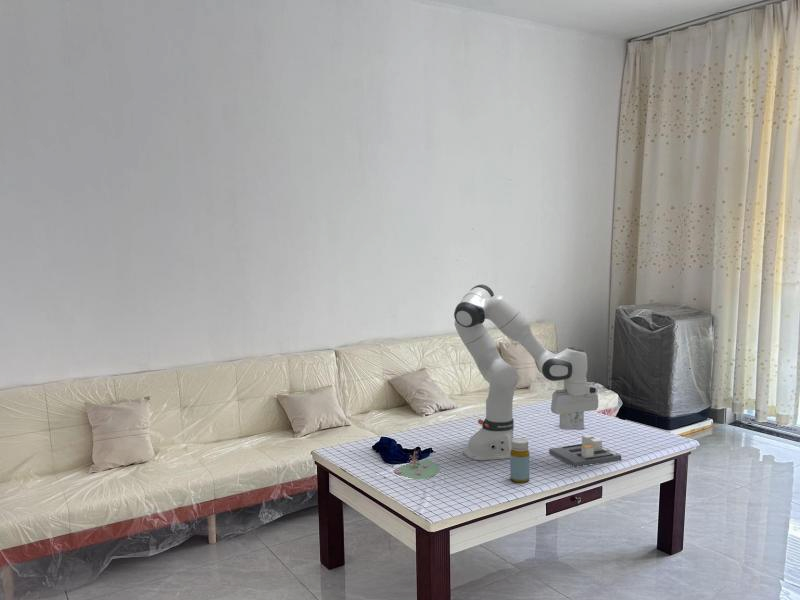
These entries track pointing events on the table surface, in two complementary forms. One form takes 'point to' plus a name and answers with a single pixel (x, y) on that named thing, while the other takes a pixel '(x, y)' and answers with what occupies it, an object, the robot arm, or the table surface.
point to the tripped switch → (587, 451)
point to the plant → (417, 469)
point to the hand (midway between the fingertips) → (574, 422)
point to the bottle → (519, 460)
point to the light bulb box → (567, 425)
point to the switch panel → (575, 459)
